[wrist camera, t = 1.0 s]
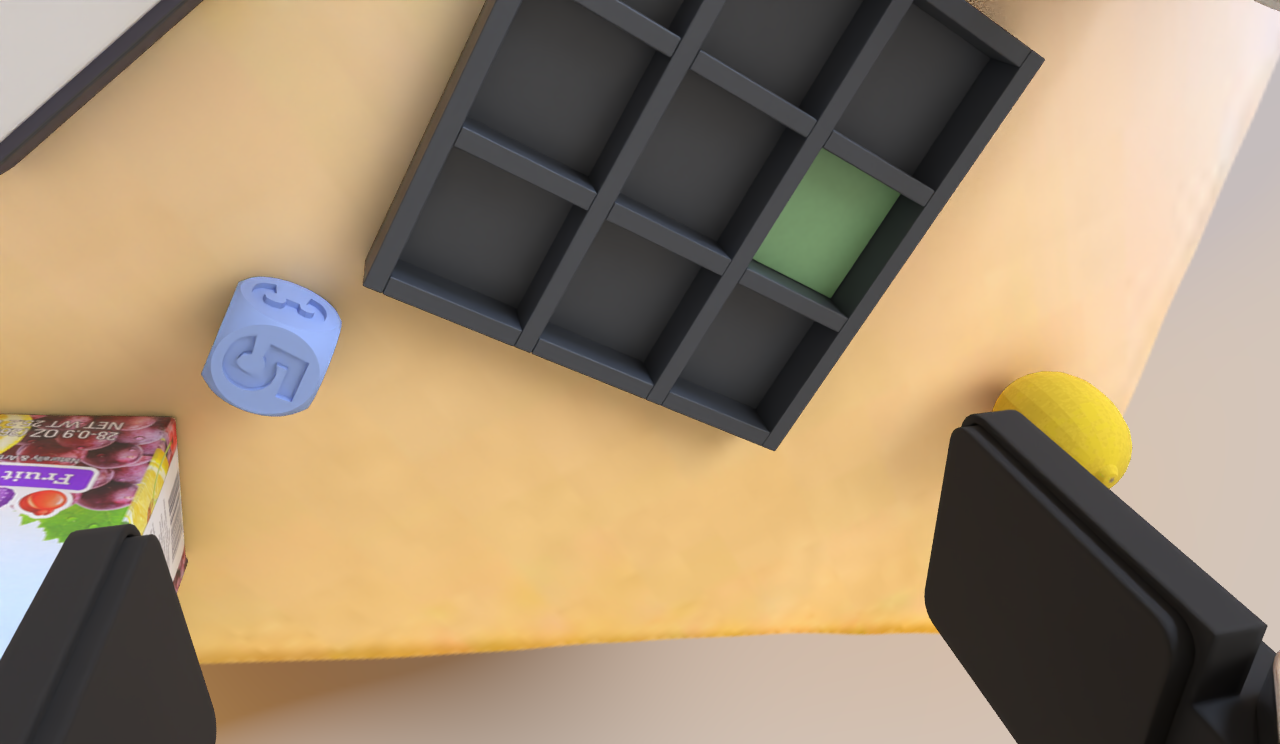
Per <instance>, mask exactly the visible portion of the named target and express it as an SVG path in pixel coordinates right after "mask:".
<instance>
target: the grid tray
mask: <svg viewBox="0 0 1280 744" xmlns="http://www.w3.org/2000/svg"><path fill="white" fill-rule="evenodd" d="M1044 61H1045V59H1044V58H1043V57H1041V56H1040V55H1039V54H1037V53H1036V52H1035V51H1033V50H1031V49H1030V48H1029V47H1028V46H1026V45H1025V44H1024V43H1022V42H1021V41H1020V40H1018V39H1017V38H1015V37H1014V36H1013V35H1011V34H1010V33H1009V32H1007V31H1006V30H1005V29H1003V28H1002V27H1000V26H999V25H998V24H996V23H995V22H994V21H992V20H991V19H990V18H988V17H987V16H985V15H984V14H983V13H981V12H980V11H979V10H977V9H976V8H975V7H973V6H972V5H970V4H969V3H968V2H966V1H965V0H486V2H485V4H484V6H483V8H482V10H481V12H480V15H479V17H478V19H477V21H476V23H475V25H474V27H473V30H472V32H471V34H470V36H469V38H468V40H467V42H466V45H465V47H464V49H463V51H462V53H461V55H460V58H459V60H458V62H457V64H456V66H455V68H454V70H453V73H452V75H451V77H450V79H449V81H448V83H447V86H446V88H445V90H444V92H443V94H442V96H441V98H440V101H439V103H438V105H437V107H436V109H435V111H434V113H433V116H432V118H431V120H430V122H429V124H428V126H427V129H426V131H425V133H424V135H423V137H422V139H421V141H420V144H419V146H418V148H417V150H416V152H415V154H414V156H413V159H412V161H411V163H410V165H409V167H408V169H407V172H406V174H405V176H404V178H403V180H402V182H401V184H400V187H399V189H398V191H397V193H396V195H395V197H394V200H393V202H392V204H391V206H390V208H389V210H388V212H387V215H386V217H385V219H384V221H383V223H382V225H381V227H380V230H379V232H378V234H377V236H376V238H375V240H374V243H373V245H372V247H371V249H370V251H369V253H368V255H367V258H366V260H365V268H364V278H363V286H365V287H367V288H370V289H372V290H375V291H377V292H379V293H382V292H383V294H384V295H386V296H389V297H391V298H394V299H396V300H399V301H401V302H404V303H406V304H409V305H411V306H414V307H416V308H419V309H421V310H424V311H426V312H429V313H431V314H434V315H436V316H439V317H441V318H444V319H446V320H449V321H451V322H454V323H456V324H459V325H461V326H464V327H466V328H469V329H471V330H474V331H476V332H479V333H481V334H484V335H486V336H489V337H491V338H494V339H496V340H499V341H501V342H504V343H506V344H509V345H511V346H515V347H517V348H519V349H522V350H524V351H527V352H529V353H531V352H532V354H534V355H536V356H539V357H541V358H544V359H546V360H549V361H551V362H554V363H556V364H559V365H561V366H564V367H566V368H569V369H571V370H574V371H576V372H579V373H581V374H584V375H586V376H589V377H591V378H594V379H596V380H599V381H601V382H604V383H606V384H609V385H611V386H614V387H616V388H619V389H621V390H624V391H626V392H629V393H631V394H634V395H636V396H639V397H641V398H644V399H646V400H648V401H651V402H653V403H656V404H658V405H661V406H663V407H666V408H668V409H671V410H673V411H676V412H678V413H681V414H683V415H686V416H688V417H691V418H693V419H696V420H698V421H701V422H703V423H706V424H708V425H711V426H713V427H716V428H718V429H721V430H723V431H726V432H728V433H731V434H733V435H735V436H738V437H740V438H743V439H745V440H748V441H750V442H753V443H755V444H758V445H760V446H763V447H765V448H768V449H770V450H773V451H775V450H776V449H777V448H778V446H779V445H780V443H781V442H782V440H783V439H784V437H785V436H786V435H787V433H788V432H789V430H790V429H791V427H792V426H793V424H794V423H795V422H796V420H797V419H798V417H799V416H800V414H801V413H802V411H803V410H804V408H805V407H806V406H807V404H808V403H809V401H810V400H811V398H812V397H813V395H814V394H815V393H816V391H817V390H818V388H819V387H820V385H821V384H822V382H823V381H824V379H825V378H826V377H827V375H828V374H829V372H830V371H831V369H832V368H833V366H834V365H835V364H836V362H837V361H838V359H839V358H840V356H841V355H842V353H843V352H844V351H845V349H846V348H847V346H848V345H849V343H850V342H851V340H852V339H853V337H854V336H855V335H856V333H857V332H858V330H859V329H860V327H861V326H862V324H863V323H864V322H865V320H866V319H867V317H868V316H869V314H870V313H871V311H872V310H873V309H874V307H875V306H876V304H877V303H878V301H879V300H880V298H881V297H882V295H883V294H884V293H885V291H886V290H887V288H888V287H889V285H890V284H891V282H892V281H893V280H894V278H895V277H896V275H897V274H898V272H899V271H900V269H901V268H902V266H903V265H904V264H905V262H906V261H907V259H908V258H909V256H910V255H911V253H912V252H913V251H914V249H915V248H916V246H917V245H918V243H919V242H920V240H921V239H922V238H923V236H924V235H925V233H926V232H927V230H928V229H929V227H930V226H931V224H932V223H933V222H934V220H935V219H936V217H937V216H938V214H939V213H940V211H941V210H942V209H943V207H944V206H945V204H946V203H947V201H948V200H949V198H950V197H951V195H952V194H953V193H954V191H955V190H956V188H957V187H958V185H959V184H960V182H961V181H962V180H963V178H964V177H965V175H966V174H967V172H968V171H969V169H970V168H971V167H972V165H973V164H974V162H975V161H976V159H977V158H978V156H979V155H980V153H981V152H982V151H983V149H984V148H985V146H986V145H987V143H988V142H989V140H990V139H991V138H992V136H993V135H994V133H995V132H996V130H997V129H998V127H999V126H1000V124H1001V123H1002V122H1003V120H1004V119H1005V117H1006V116H1007V114H1008V113H1009V111H1010V110H1011V109H1012V107H1013V106H1014V104H1015V103H1016V101H1017V100H1018V98H1019V97H1020V96H1021V94H1022V93H1023V91H1024V90H1025V88H1026V87H1027V85H1028V84H1029V82H1030V81H1031V80H1032V78H1033V77H1034V75H1035V74H1036V72H1037V71H1038V69H1039V68H1040V67H1041V65H1042V64H1043V62H1044Z"/></svg>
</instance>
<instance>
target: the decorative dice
mask: <svg viewBox="0 0 1280 744" xmlns="http://www.w3.org/2000/svg"><path fill="white" fill-rule="evenodd" d="M341 324H342V321H341V319H340V317H339V315H338V313H337V311H336V310H335V309H334V308H333V306H332V305H330V304H329V303H328V302H327V301H326V300H325V299H323V298H322V297H320V296H319V295H317V294H316V293H314V292H312V291H310V290H308V289H306V288H304V287H302V286H300V285H297V284H294V283H292V282H288V281H285V280H281V279H277V278H271V277H252V278H249V279H246V280H243V281H240V282H239V283H238V285H237V287H236V290H235V292H234V295H233V297H232V300H231V302H230V304H229V307H228V309H227V312H226V314H225V317H224V319H223V321H222V324H221V326H220V329H219V331H218V334H217V336H216V339H215V341H214V343H213V346H212V348H211V351H210V353H209V356H208V358H207V361H206V363H205V366H204V368H203V370H202V373H201V375H202V376H203V378H204V380H205V382H206V383H207V385H208V386H209V387H210V389H211V390H212V391H213V392H214V393H215V394H216V395H217V396H218V397H220V398H221V399H223V400H224V401H226V402H227V403H229V404H231V405H233V406H235V407H237V408H239V409H242V410H244V411H247V412H250V413H254V414H258V415H264V416H286V415H290V414H294V413H297V412H300V411H303V410H305V409H307V408H308V407H309V406H310V404H311V403H312V401H313V399H314V397H315V395H316V393H317V391H318V389H319V387H320V385H321V383H322V380H323V378H324V376H325V373H326V371H327V369H328V366H329V363H330V361H331V358H332V355H333V353H334V350H335V347H336V344H337V341H338V337H339V334H340V330H341Z"/></svg>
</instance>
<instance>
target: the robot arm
mask: <svg viewBox="0 0 1280 744" xmlns="http://www.w3.org/2000/svg"><path fill="white" fill-rule="evenodd" d="M924 597H925V605H926V609H927V612H928V615H929V618H930V619H931V621H932V623H933V624H934V626H935V627H936V629H937V630H938V631H939V633H940V634H941V636H942V637H943V639H944V640H945V641H946V643H947V644H948V646H949V647H950V648H951V650H952V651H953V653H954V654H955V656H956V657H957V658H958V660H959V661H960V663H961V664H962V665H963V667H964V668H965V670H966V671H967V673H968V674H969V675H970V677H971V678H972V680H973V681H974V682H975V684H976V685H977V687H978V688H979V689H980V691H981V692H982V694H983V695H984V697H985V698H986V699H987V701H988V702H989V703H990V705H991V706H992V708H993V709H994V711H995V712H996V714H997V715H998V717H1000V719H1001V721H1002V722H1003V723H1004V725H1005V726H1006V728H1007V729H1008V731H1009V732H1010V734H1011V735H1012V736H1013V738H1014V739H1015V740H1016V742H1017V743H1018V744H1280V651H1279V652H1277V653H1275V652H1274V651H1273V650H1272V649H1271V648H1270V647H1268V646H1267V645H1266V644H1265V643H1264V642H1263V641H1262V638H1263V636H1264V633H1265V631H1266V628H1267V625H1266V624H1265V623H1264V622H1262V620H1260V619H1259V618H1258V617H1257V616H1256V615H1255V614H1253V613H1252V612H1251V611H1250V610H1249V609H1247V608H1246V607H1245V606H1244V605H1243V604H1242V603H1241V602H1239V601H1238V600H1237V599H1236V598H1235V597H1234V596H1233V595H1231V594H1230V593H1229V592H1228V591H1227V590H1226V589H1224V588H1223V587H1222V586H1221V585H1220V584H1219V583H1217V582H1216V581H1215V580H1214V579H1213V578H1212V577H1211V576H1209V575H1208V574H1207V573H1206V572H1205V571H1203V570H1202V569H1201V568H1200V567H1199V566H1198V565H1197V564H1195V563H1194V562H1193V561H1192V560H1191V559H1190V558H1189V557H1187V556H1186V555H1185V554H1184V553H1183V552H1181V551H1180V550H1179V549H1178V548H1177V547H1176V546H1174V545H1173V544H1172V543H1171V542H1170V541H1169V540H1168V539H1166V538H1165V537H1164V536H1163V535H1162V534H1161V533H1159V532H1158V531H1157V530H1156V529H1155V528H1154V527H1153V526H1151V525H1150V524H1149V523H1148V522H1147V521H1145V520H1144V519H1143V518H1142V517H1141V516H1140V515H1138V514H1137V513H1136V512H1135V511H1134V510H1133V509H1132V508H1130V507H1129V506H1128V505H1127V504H1126V503H1125V502H1124V501H1122V500H1121V499H1120V498H1119V497H1118V496H1117V495H1115V494H1114V493H1113V492H1112V491H1111V490H1110V489H1108V488H1107V487H1106V486H1105V485H1104V484H1103V483H1101V482H1100V481H1099V480H1098V479H1097V478H1096V477H1095V476H1093V475H1092V474H1091V473H1090V472H1089V471H1088V470H1086V469H1085V468H1084V467H1083V466H1082V465H1081V464H1079V463H1078V462H1077V461H1076V460H1075V459H1074V458H1072V457H1071V456H1070V455H1069V454H1068V453H1067V452H1066V451H1064V450H1063V449H1062V448H1061V447H1060V446H1059V445H1057V444H1056V443H1055V442H1054V441H1053V440H1052V439H1050V438H1049V437H1048V436H1047V435H1046V434H1045V433H1043V432H1042V431H1041V430H1040V429H1039V428H1038V427H1036V426H1035V425H1034V424H1033V423H1032V422H1031V421H1030V420H1028V419H1027V418H1026V417H1025V416H1024V415H1023V414H1021V413H1020V412H1018V411H1016V410H1002V411H994V412H987V413H979V414H971V415H969V416H968V417H966V418H965V420H964V421H963V423H962V426H961V427H960V428H957V429H955V430H954V431H953V433H952V435H951V438H950V443H949V449H948V455H947V461H946V467H945V473H944V479H943V485H942V491H941V497H940V503H939V509H938V515H937V521H936V527H935V533H934V539H933V545H932V551H931V557H930V562H929V568H928V574H927V580H926V586H925V596H924ZM215 741H216V718H215V713H214V708H213V705H212V702H211V699H210V696H209V693H208V690H207V687H206V683H205V680H204V677H203V674H202V671H201V668H200V665H199V662H198V659H197V655H196V652H195V649H194V646H193V643H192V640H191V637H190V634H189V631H188V627H187V624H186V621H185V618H184V615H183V612H182V609H181V606H180V603H179V599H178V596H177V593H176V590H175V587H174V584H173V581H172V578H171V575H170V571H169V568H168V565H167V562H166V559H165V556H164V553H163V550H162V547H161V544H160V542H159V539H158V538H157V537H156V535H153V534H149V535H142V536H141V534H140V531H139V530H138V529H137V527H136V526H135V525H133V524H122V525H114V526H107V527H99V528H91V529H84V530H76V531H74V532H71V533H70V534H69V536H68V537H67V538H66V540H65V542H64V543H63V545H62V547H61V549H60V551H59V553H58V554H57V556H56V558H55V560H54V562H53V564H52V565H51V567H50V569H49V571H48V573H47V575H46V577H45V578H44V580H43V582H42V584H41V586H40V588H39V589H38V591H37V593H36V595H35V597H34V599H33V600H32V602H31V604H30V606H29V608H28V610H27V611H26V613H25V615H24V617H23V619H22V621H21V622H20V624H19V626H18V628H17V630H16V632H15V633H14V635H13V637H12V639H11V641H10V643H9V644H8V646H7V648H6V650H5V652H4V654H3V655H2V657H1V659H0V744H215Z"/></svg>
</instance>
